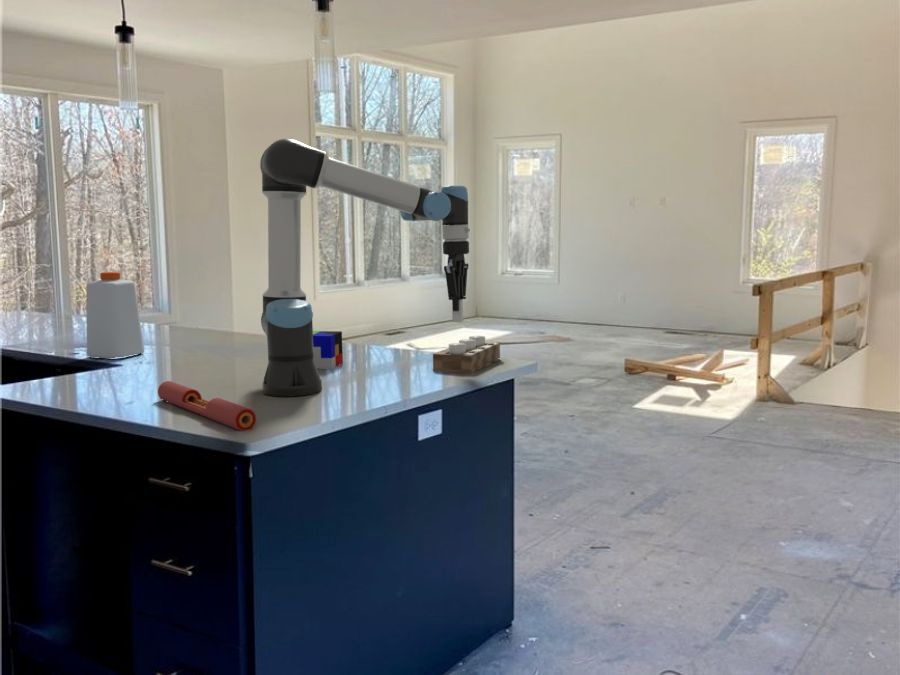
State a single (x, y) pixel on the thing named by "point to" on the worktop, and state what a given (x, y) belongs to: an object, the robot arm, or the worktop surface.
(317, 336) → the puzzle toy
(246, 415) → the blood vessel
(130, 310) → the plastic bottle
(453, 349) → the left button
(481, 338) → the right button
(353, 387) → the worktop surface
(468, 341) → the middle button
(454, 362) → the button panel
